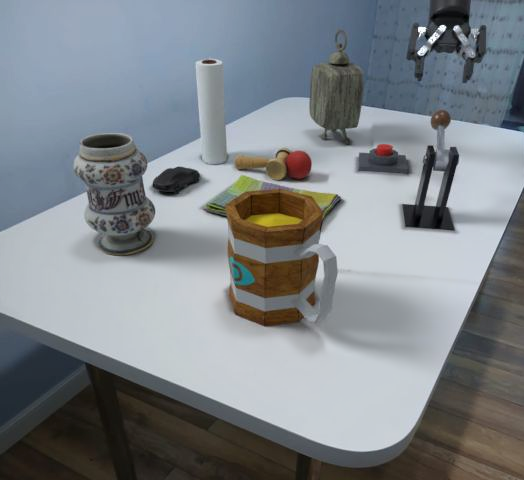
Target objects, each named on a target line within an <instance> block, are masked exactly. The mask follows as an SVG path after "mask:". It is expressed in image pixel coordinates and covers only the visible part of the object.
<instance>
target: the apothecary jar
mask: <svg viewBox="0 0 524 480" xmlns="http://www.w3.org/2000/svg"><path fill="white" fill-rule="evenodd" d="M147 169H148V159H147V157H146V155H145V154H144V152H142V151H141V150H140V149H138V147H137V146H136V144H135V141H134V138H133V137H132V136H131V135H129V134H125V133H119V132H104V133H95V134H90V135H87V136H85V137H83V138H82V139H80V141H79V153H78V155H77V156H76V157H75V158H74V161H73V172H74V174H75V176H76V177H77V178H78V179H79V180H81V182H84V187H85V190H86V195H87V201H88V204H87V205H86V206H85V209H84V212H83V218H84V221H85V223H86V224H87V225H88V227H89V228H91V229H92V230H94V231H96V232H97V233H100V234H102V236H101V237H100V238H99V240H98V243H97V245H98V248H99V249H100V251H101V252H103V253H105V254H108V255H112V256H127V255H128V256H129V255H134V254H137V253H140V252H142V251H145V250H146V249H148V248H149V247H150V246H151V245H152V244H153V242H154V235H153V233H151V231H149V230H148V229H146V228H147V227H148V226H149V225H151V223H152V222H153V221H154V219H155V216H156V207H155V205H154V203H153V202H152V200H151V199H150V198H149V197H147V194H146V191H145V185H144V178H143V175H145V174H146V171H147Z"/></svg>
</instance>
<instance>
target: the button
mask: <svg viewBox="0 0 524 480" xmlns="http://www.w3.org/2000/svg"><path fill="white" fill-rule="evenodd" d="M376 148H377V150H376V154H377V155H381V156H391V155H392V150H394V146H392V145H391V144H388V143H380V144H377V145H376Z"/></svg>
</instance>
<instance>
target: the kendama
mask: <svg viewBox="0 0 524 480" xmlns="http://www.w3.org/2000/svg"><path fill="white" fill-rule="evenodd" d="M234 163H235V167H236V169H237V170H246V169H263V168H265V172H266V174H267V176H268V177H269V178H270V179H272V180H274V181H280V180H283V179H284V178H285V177H286V175H288V176H289V177H290V178H292V179H295V180H302V179H304V178H306V177H307V176H308V175H310V173H311V171H312V167H313V163H312V158H311V156H310V155H309V154H308V153H307V152H306V151H303V150H294V151H292V150H290V149H289V148H287V147H282V148H280V149H278V150H277V152H276V153H275V156H274V157H273V158H265V157H259V156H257V157H255V156H246V155H245V156H244V155H237V156H236V157H235V161H234Z"/></svg>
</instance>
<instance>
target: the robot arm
mask: <svg viewBox="0 0 524 480" xmlns="http://www.w3.org/2000/svg"><path fill="white" fill-rule="evenodd" d="M471 4H472V0H429V8H428V9H429V10H428V11H429V12H428V21H427V26H425V27H424V26H420V24H419V23H418V22H414V23H413V24H412V26H411V30H410V33H409V40H408V45H407V46H408V47H407V51H406V57H405V58H406V60H407V61H413V62H414V74H413V75H414V78H415V79H416V82H422V80H423V76H424V69H425V59H426V58H428V57H429V56H430V55H431V54H432V53H433V52H435V53H438V54H442V53H446V54H453V53H455V55H456V56H457V57H458V59H461V60H462V62H463V63H464V65H463V70H462V71H463V72H462V81H461V83H462V84H467V83H468V81H471V78H472V77H473V74H474V69H475V68H474V66H475V64H480V63H482V61H483V59H484V57H485V55H486V54H487V25H485V24H481V25H480V26H479V28H472V27H471V26H470V16H471V14H470V13H471ZM421 37H424V38H425V40H426V41H425V43H424V44H423V45H422V47H421V48H420V49H416V47H417V41H419V40H420V39H421ZM469 37H470V38H471V39H472V42H473V43H474V44H475V46H474V47H475V49H473V47H472V46H471V42H470V40H469Z"/></svg>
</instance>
